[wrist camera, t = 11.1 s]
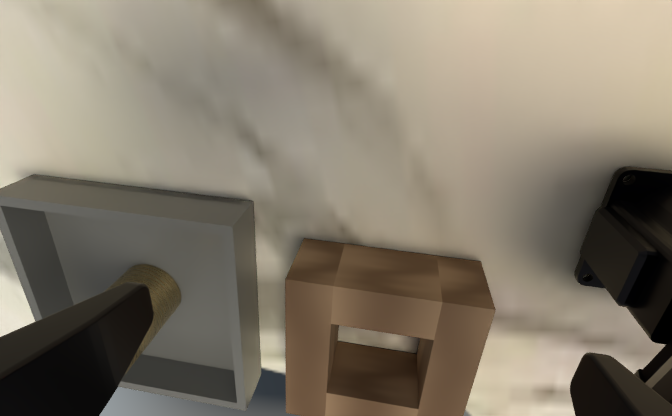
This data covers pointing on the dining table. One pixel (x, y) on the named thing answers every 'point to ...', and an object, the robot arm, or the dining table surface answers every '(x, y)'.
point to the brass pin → (153, 297)
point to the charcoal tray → (152, 249)
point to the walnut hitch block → (384, 316)
